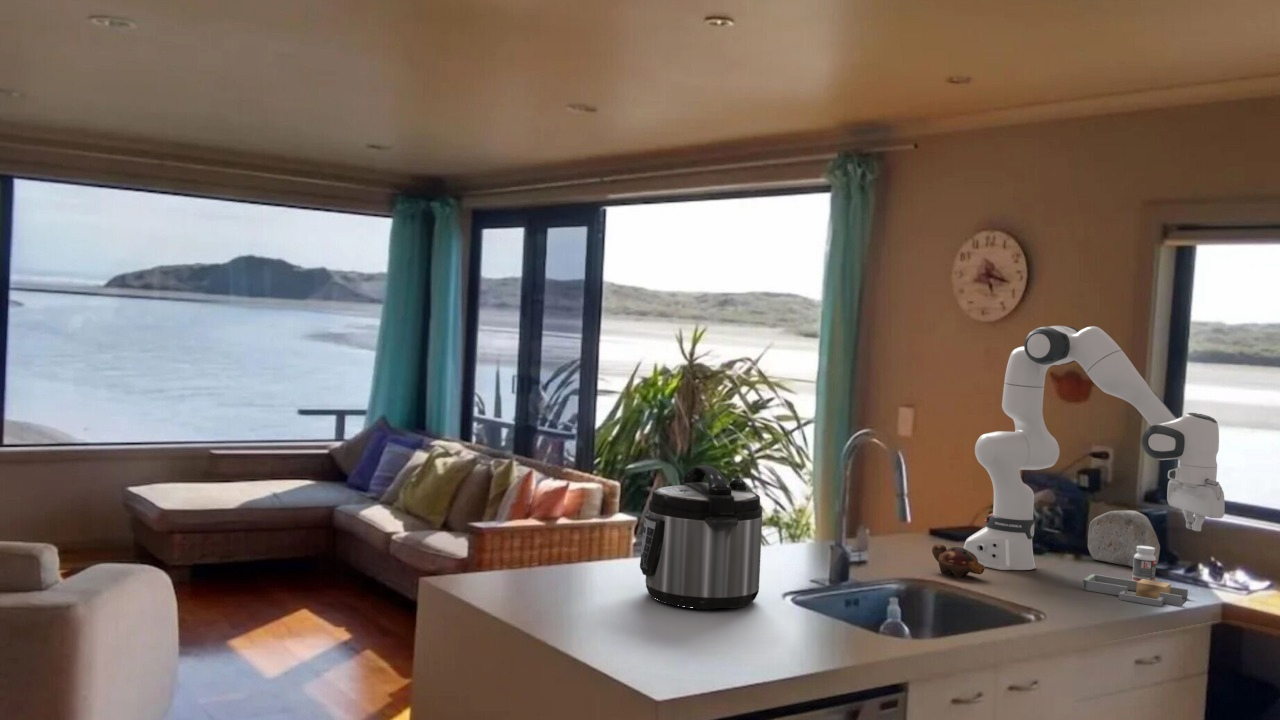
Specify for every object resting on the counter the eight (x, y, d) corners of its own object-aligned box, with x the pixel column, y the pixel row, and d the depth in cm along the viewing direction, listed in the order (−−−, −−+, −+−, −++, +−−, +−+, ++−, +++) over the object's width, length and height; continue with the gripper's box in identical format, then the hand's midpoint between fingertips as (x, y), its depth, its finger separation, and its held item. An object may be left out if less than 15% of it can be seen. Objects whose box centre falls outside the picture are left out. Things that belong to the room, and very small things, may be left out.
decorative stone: (1162, 569, 339) (1148, 573, 332) (1097, 555, 353) (1083, 559, 346) (1167, 513, 338) (1153, 516, 331) (1101, 502, 352) (1087, 505, 345)
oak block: (1135, 597, 299) (1136, 582, 298) (1141, 593, 303) (1142, 578, 303) (1164, 602, 294) (1165, 587, 294) (1169, 598, 299) (1170, 583, 299)
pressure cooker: (665, 578, 289) (672, 454, 288) (772, 594, 279) (780, 465, 278) (619, 603, 261) (627, 466, 260) (737, 621, 251) (745, 478, 250)
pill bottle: (1156, 585, 314) (1159, 550, 313) (1134, 583, 315) (1137, 548, 314) (1151, 581, 319) (1154, 546, 319) (1130, 579, 320) (1132, 544, 320)
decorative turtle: (934, 567, 321) (938, 540, 321) (987, 580, 313) (992, 552, 312) (922, 571, 313) (927, 542, 313) (976, 584, 305) (981, 555, 304)
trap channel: (1078, 592, 300) (1078, 583, 299) (1091, 582, 313) (1092, 573, 313) (1177, 609, 286) (1178, 599, 286) (1187, 598, 299) (1188, 589, 299)
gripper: (1233, 483, 283) (1229, 538, 284) (1186, 471, 303) (1182, 523, 304) (1209, 482, 282) (1205, 537, 283) (1164, 470, 303) (1160, 522, 303)
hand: (1193, 529), depth 294 cm, fingers closed
